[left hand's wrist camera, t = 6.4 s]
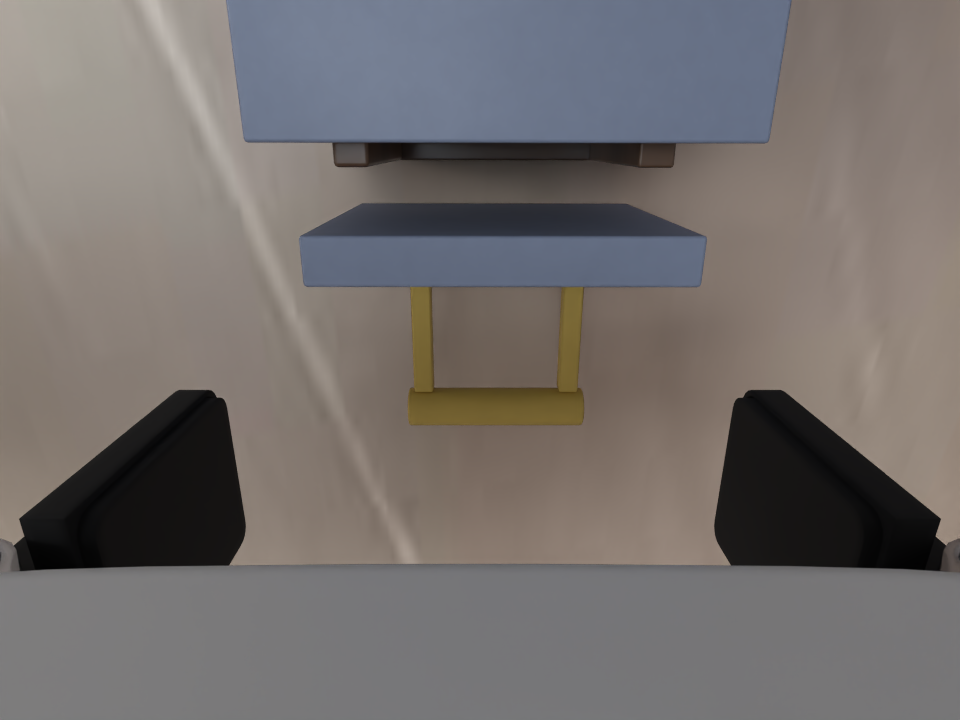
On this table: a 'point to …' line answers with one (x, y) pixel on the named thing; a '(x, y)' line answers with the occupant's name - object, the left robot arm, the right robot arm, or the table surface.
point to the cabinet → (507, 70)
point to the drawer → (500, 263)
